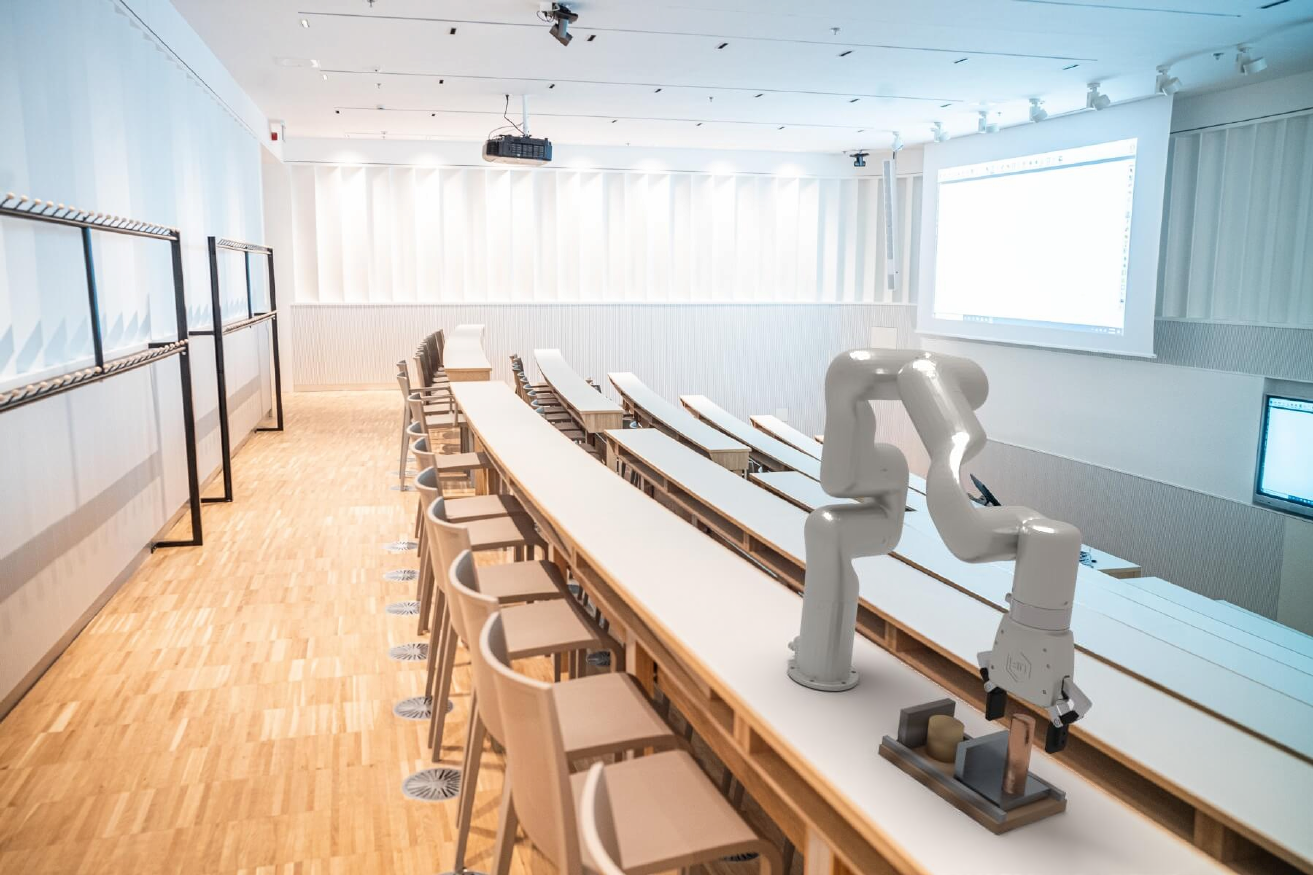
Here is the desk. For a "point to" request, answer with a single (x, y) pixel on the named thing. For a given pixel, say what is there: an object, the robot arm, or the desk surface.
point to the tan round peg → (944, 738)
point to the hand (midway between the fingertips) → (1023, 734)
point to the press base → (940, 775)
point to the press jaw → (1001, 765)
